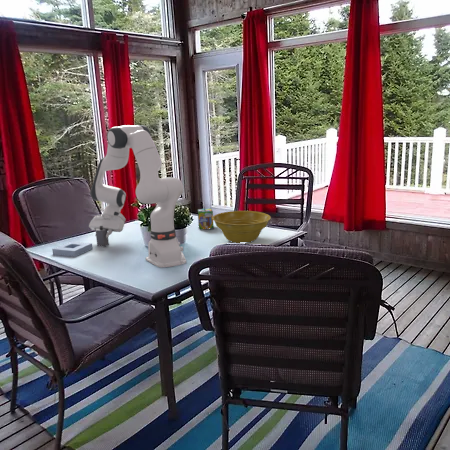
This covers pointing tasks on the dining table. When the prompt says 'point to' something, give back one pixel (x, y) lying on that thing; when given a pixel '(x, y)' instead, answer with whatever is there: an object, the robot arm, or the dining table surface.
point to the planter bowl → (241, 225)
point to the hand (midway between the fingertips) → (101, 236)
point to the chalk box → (205, 218)
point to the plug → (101, 237)
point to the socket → (72, 249)
